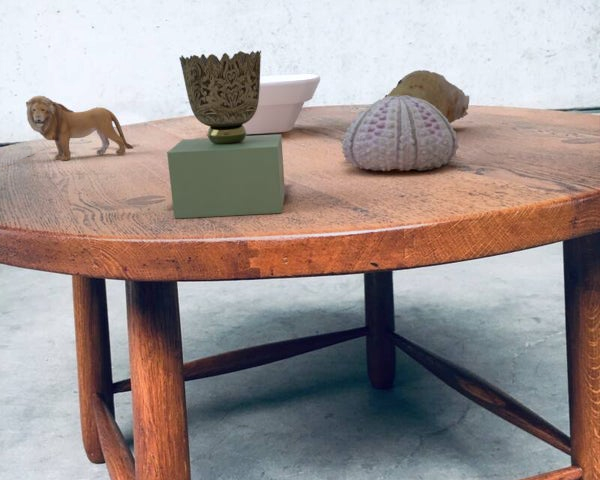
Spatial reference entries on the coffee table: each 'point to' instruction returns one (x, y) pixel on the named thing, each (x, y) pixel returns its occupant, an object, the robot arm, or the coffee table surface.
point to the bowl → (281, 102)
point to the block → (227, 177)
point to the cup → (223, 92)
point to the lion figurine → (73, 125)
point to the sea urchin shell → (399, 136)
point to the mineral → (434, 93)
